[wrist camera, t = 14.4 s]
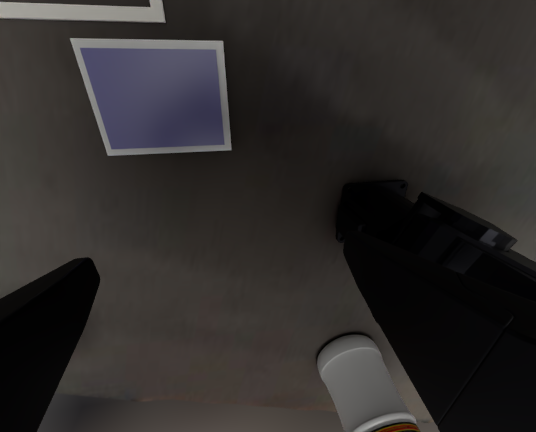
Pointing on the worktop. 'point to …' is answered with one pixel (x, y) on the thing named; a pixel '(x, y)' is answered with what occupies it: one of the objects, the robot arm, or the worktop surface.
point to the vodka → (363, 387)
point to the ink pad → (156, 94)
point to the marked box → (83, 12)
